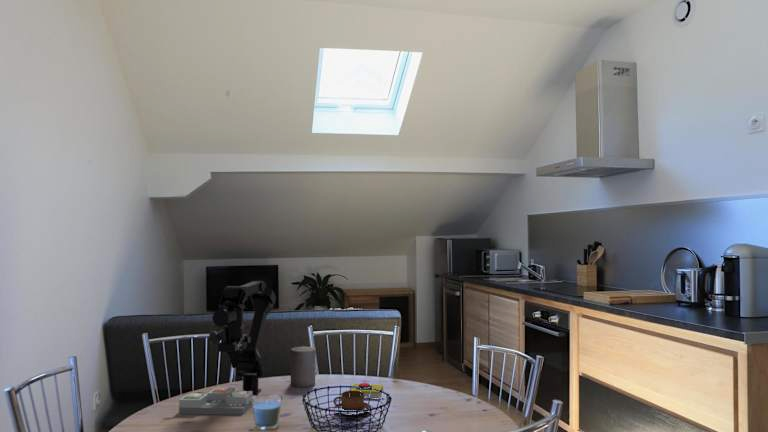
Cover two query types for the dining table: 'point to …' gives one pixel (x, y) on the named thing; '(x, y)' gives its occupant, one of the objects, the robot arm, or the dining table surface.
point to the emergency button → (367, 391)
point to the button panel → (216, 403)
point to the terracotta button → (221, 390)
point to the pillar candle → (302, 366)
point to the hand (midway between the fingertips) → (234, 367)
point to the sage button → (194, 396)
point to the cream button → (239, 393)
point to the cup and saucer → (352, 401)
